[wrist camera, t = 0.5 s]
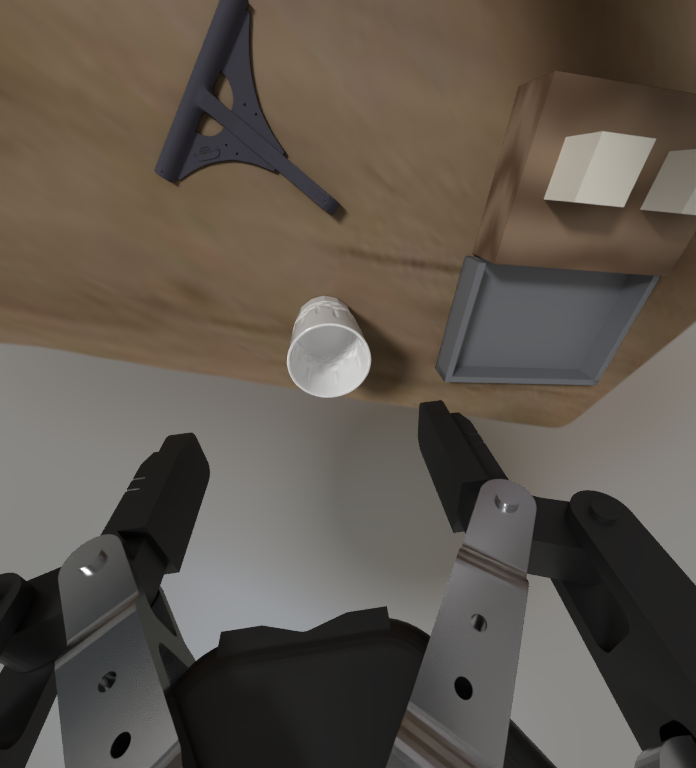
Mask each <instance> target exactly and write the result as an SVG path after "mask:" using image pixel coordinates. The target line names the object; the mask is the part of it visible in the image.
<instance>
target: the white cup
mask: <svg viewBox="0 0 696 768" xmlns="http://www.w3.org/2000/svg"><path fill="white" fill-rule="evenodd" d="M370 366H371V353H370V349H369V347H368V345H367V342H366V340H365V338H364V336H363V334H362V332H361V329H360V327H359V325H358V323H357V322H356V320H355V318H354V316H353V315H352V314H351V312H350V310H349V308H348V306H347V305H346V304H344V303H343V302H341V301H340V300H339V299H337V298H334V297H329V296H321V297H317V298H313V299H311V300H309V301H308V302H307V303H306V304H305V305H303V306H302V307H301V309H300V312H299V314H298V317H297V319H296V322H295V325H294V329H293V332H292V337H291V342H290V346H289V351H288V355H287V367H288V371H289V374H290V376H291V378H292V380H293V381H294V382H295V384H296V385H297V386H298V387H299V388H301V389H302V390H304V391H305V392H307V393H309V394H311V395H314V396H318V397H325V398H330V397H338V396H342V395H345V394H347V393H349V392H351V391H353V390H354V389H356V388H357V387H358V386H359V385H360V384H361V383H362V382H363V381H364V380H365V378H366V377H367V375H368V372H369V370H370Z"/></svg>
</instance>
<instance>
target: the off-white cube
mask: <svg viewBox="0 0 696 768" xmlns="http://www.w3.org/2000/svg"><path fill="white" fill-rule="evenodd" d="M640 210H648V211H658V212H667V213H677V214H687V215H696V149H691V150H678V151H669V153H668V155H667V157H666V159H665V161H664V163H663V165H662V167H661V169H660V171H659V173H658V175H657V177H656V179H655V181H654V183H653V185H652V187H651V189H650V191H649V193H648V195H647V197H646V199H645V201H644V203H643V205H642V207H641V209H640Z"/></svg>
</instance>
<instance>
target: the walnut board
mask: <svg viewBox="0 0 696 768" xmlns="http://www.w3.org/2000/svg"><path fill="white" fill-rule="evenodd" d="M601 131H605V132H612V133H619V134H626V135H633V136H641V137H648V138H655V139H656V141H655V143H654V145H653V147H652V149H651V151H650V153H649V155H648V157H647V159H646V162H645V164H644V166H643V168H642V170H641V172H640V174H639V176H638V178H637V180H636V183H635V185H634V187H633V189H632V191H631V193H630V195H629V197H628V199H627V201H626V204H625V206H624V207H614V206H603V205H593V204H583V203H573V202H564V201H554V200H545V199H544V197H545V194H546V191H547V189H548V186H549V183H550V180H551V177H552V175H553V172H554V169H555V166H556V163H557V161H558V158H559V155H560V152H561V149H562V147H563V144H564V141H565V138H566V137H569V136H576V135H582V134H588V133H594V132H601ZM691 149H696V94H693V93H687V92H681V91H675V90H669V89H663V88H657V87H651V86H645V85H639V84H633V83H627V82H621V81H615V80H609V79H603V78H597V77H591V76H585V75H579V74H573V73H567V72H561V71H553V72H551V73H549V74H546V75H544V76H542V77H539V78H537V79H535V80H533V81H530V82H528V83H526V84H523V85H521V86H519V88H518V92H517V96H516V99H515V103H514V106H513V110H512V114H511V117H510V121H509V124H508V128H507V132H506V135H505V139H504V142H503V146H502V150H501V153H500V157H499V161H498V164H497V168H496V171H495V175H494V179H493V182H492V186H491V189H490V193H489V197H488V200H487V204H486V207H485V211H484V215H483V218H482V222H481V225H480V229H479V233H478V236H477V240H476V244H475V247H474V251H473V254H475V255H477V256H479V257H481V258H483V259H485V260H488V261H490V262H492V263H494V264H506V265H520V266H533V267H546V268H559V269H573V270H586V271H599V272H612V273H626V274H639V275H652V276H666V277H669V275H670V273H671V272H672V270H673V268H674V267H675V265H676V263H677V262H678V260H679V258H680V257H681V255H682V253H683V252H684V250H685V249H686V247H687V245H688V244H689V242H690V240H691V239H692V237H693V235H694V234H695V232H696V215H687V214H677V213H667V212H658V211H648V210H640V209H641V207H642V205H643V203H644V201H645V199H646V197H647V195H648V193H649V191H650V189H651V187H652V185H653V183H654V181H655V179H656V177H657V175H658V173H659V171H660V169H661V167H662V165H663V163H664V161H665V159H666V157H667V155H668V153H669V151H678V150H691Z"/></svg>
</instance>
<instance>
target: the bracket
mask: <svg viewBox="0 0 696 768" xmlns="http://www.w3.org/2000/svg"><path fill="white" fill-rule="evenodd" d="M248 3H249V2H248V0H220V1H219V4H218V7H217V9H216V12H215V14H214V17H213V20H212V22H211V25H210V27H209V30H208V33H207V35H206V38H205V40H204V43H203V46H202V48H201V51H200V53H199V56H198V58H197V61H196V64H195V66H194V69H193V71H192V74H191V77H190V79H189V82H188V84H187V87H186V90H185V92H184V95H183V97H182V100H181V103H180V105H179V108H178V110H177V113H176V116H175V118H174V121H173V123H172V126H171V128H170V131H169V134H168V136H167V139H166V141H165V144H164V147H163V149H162V152H161V154H160V157H159V160H158V162H157V165H156V167H155V170H154V171H155V172H156V173H157V174H158V175H160V176H161V177H162V178H164V179H166V180H168V181H170V182H172V183H174V181H175V179H178V180H181V179H183V178H184V177H185V176H187V175H188V174H190V173H191V172H193V171H194V170H196V169H198V168H200V167H202V166H205V165H207V164H211V163H214V162H220V161H228V160H236V161H243V162H248V163H252V164H256V165H259V166H261V167H264V168H266V169H269V170H271V171H275V170H278V171H279V172H280V173H281V174H283V175H284V176H285V177H286V178H287V179H289V180H290V181H291V182H292V183H293V184H295V185H296V186H297V187H298V188H299V189H300V190H302V191H303V192H304V193H305V194H306V195H308V196H309V197H310V198H311V199H312V200H314V201H315V202H316V203H317V204H318V205H319V206H321V207H322V208H323V209H324V210H326V211H327V212H328V213H329V214H331V215H333V213H334V212H335V210H336V209H337V207H338V206H339V203H338V202H337V201H336V200H335V199H334V198H333V197H331V196H330V195H329V194H328V193H327V192H325V191H324V190H323V189H322V188H321V187H320V186H318V185H317V184H316V183H315V182H314V181H313V180H311V179H310V178H309V177H308V176H307V175H305V174H304V173H303V172H302V171H301V170H300V169H298V168H297V167H296V166H295V165H294V164H293V163H291V162H290V161H289V160H288V159H287V158H286V157H284V156H283V155H284V150H283V149H282V147H281V146H280V144H279V143H278V141H277V140H276V138H275V137H274V135H273V134H272V132H271V130H270V128H269V127H268V125H267V122H266V120H265V118H264V116H263V114H262V111H261V109H260V107H259V104H258V100H257V96H256V93H255V88H254V84H253V79H252V72H251V64H250V50H249V35H250V13H249V12H248V11H247V9H246V8H247V5H248ZM220 71H221V72H223V73H224V75H225V76H226V78H227V79H228V81H229V83H230V85H231V88H232V91H233V99H234V100H233V108H232V110H231V111H230V110H229V109H228V108H227V107H226V106H224V105H223V104H222V103H221V102H220V101H219V100H218V99H217V98H216V97H215V96H214V95H213V93H212V91H213V88H214V85H215V82H216V80H217V77H218V75H219V73H220ZM244 104H246V106H244ZM204 112H206V113H208V114H209V115H211V116H212V117H213V118H215V119H216V120H217V121H218V122H219V123H221V124H222V125H223V126H224V128H223V130H222V131H221V132H220V133H219V134H217V135H215V136H211V137H208V136H203V135H201V134H199V133H197V132H196V128H197V125H198V123H199V121H200V118H201V116H202V114H203V113H204ZM256 114H257V116H256ZM226 144H227V146H226ZM237 153H238V155H237Z"/></svg>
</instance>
